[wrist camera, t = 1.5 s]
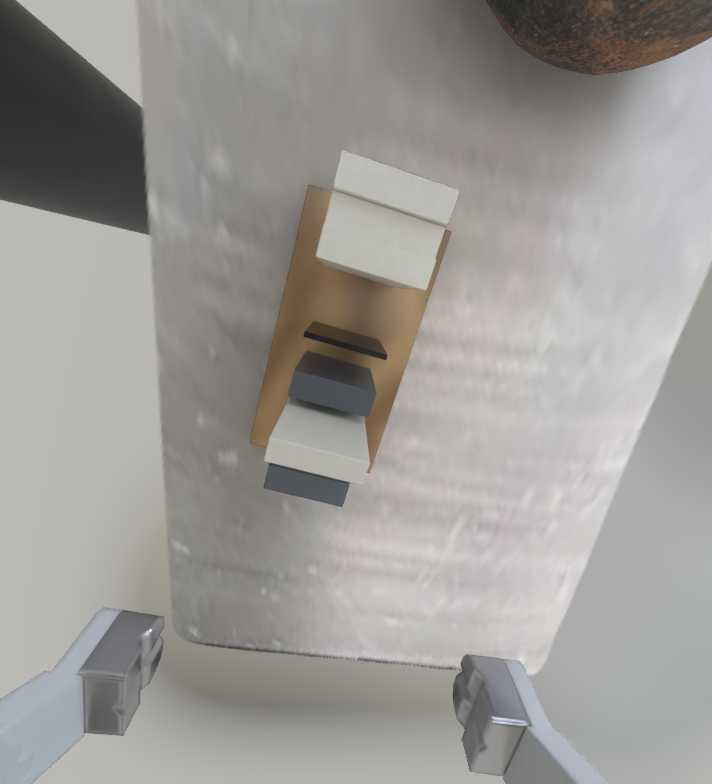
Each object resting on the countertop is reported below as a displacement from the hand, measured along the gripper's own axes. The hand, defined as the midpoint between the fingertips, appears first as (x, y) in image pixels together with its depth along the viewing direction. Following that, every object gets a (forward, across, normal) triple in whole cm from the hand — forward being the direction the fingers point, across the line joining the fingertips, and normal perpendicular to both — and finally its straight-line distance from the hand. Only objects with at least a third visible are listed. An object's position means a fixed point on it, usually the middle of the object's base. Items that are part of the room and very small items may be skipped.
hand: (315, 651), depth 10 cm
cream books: (+25, 0, -12) cm, 28 cm away
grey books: (+25, +1, +2) cm, 25 cm away
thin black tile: (+25, 0, -5) cm, 25 cm away
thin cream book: (+25, +1, +1) cm, 25 cm away
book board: (+26, 0, -4) cm, 26 cm away
